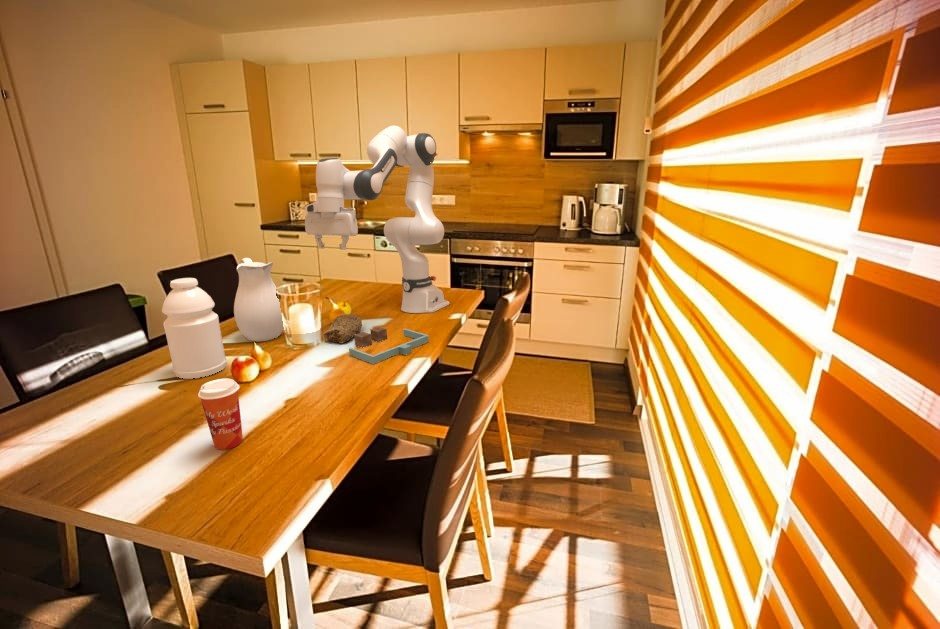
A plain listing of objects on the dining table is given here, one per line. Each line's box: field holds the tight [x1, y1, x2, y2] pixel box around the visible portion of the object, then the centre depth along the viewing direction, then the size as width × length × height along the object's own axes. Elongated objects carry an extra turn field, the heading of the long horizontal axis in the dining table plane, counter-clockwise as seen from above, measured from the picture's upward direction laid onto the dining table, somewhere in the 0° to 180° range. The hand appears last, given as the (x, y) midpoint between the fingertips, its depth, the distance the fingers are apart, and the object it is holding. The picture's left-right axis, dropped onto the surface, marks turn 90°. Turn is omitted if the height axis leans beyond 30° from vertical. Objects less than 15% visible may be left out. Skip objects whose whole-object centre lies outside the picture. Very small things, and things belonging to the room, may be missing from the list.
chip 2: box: [369, 326, 388, 343], centre depth 162 cm, size 4×4×4 cm
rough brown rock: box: [323, 313, 363, 344], centre depth 167 cm, size 13×8×20 cm
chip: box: [353, 331, 373, 349], centre depth 157 cm, size 4×4×4 cm
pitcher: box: [233, 257, 284, 343], centre depth 166 cm, size 24×17×28 cm
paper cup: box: [198, 378, 244, 451], centre depth 99 cm, size 8×8×14 cm
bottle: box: [161, 277, 227, 380], centre depth 135 cm, size 14×14×28 cm
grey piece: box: [348, 328, 430, 365], centre depth 153 cm, size 25×14×2 cm, turn 141°
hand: (331, 249), depth 157 cm, fingers open, 8 cm apart
